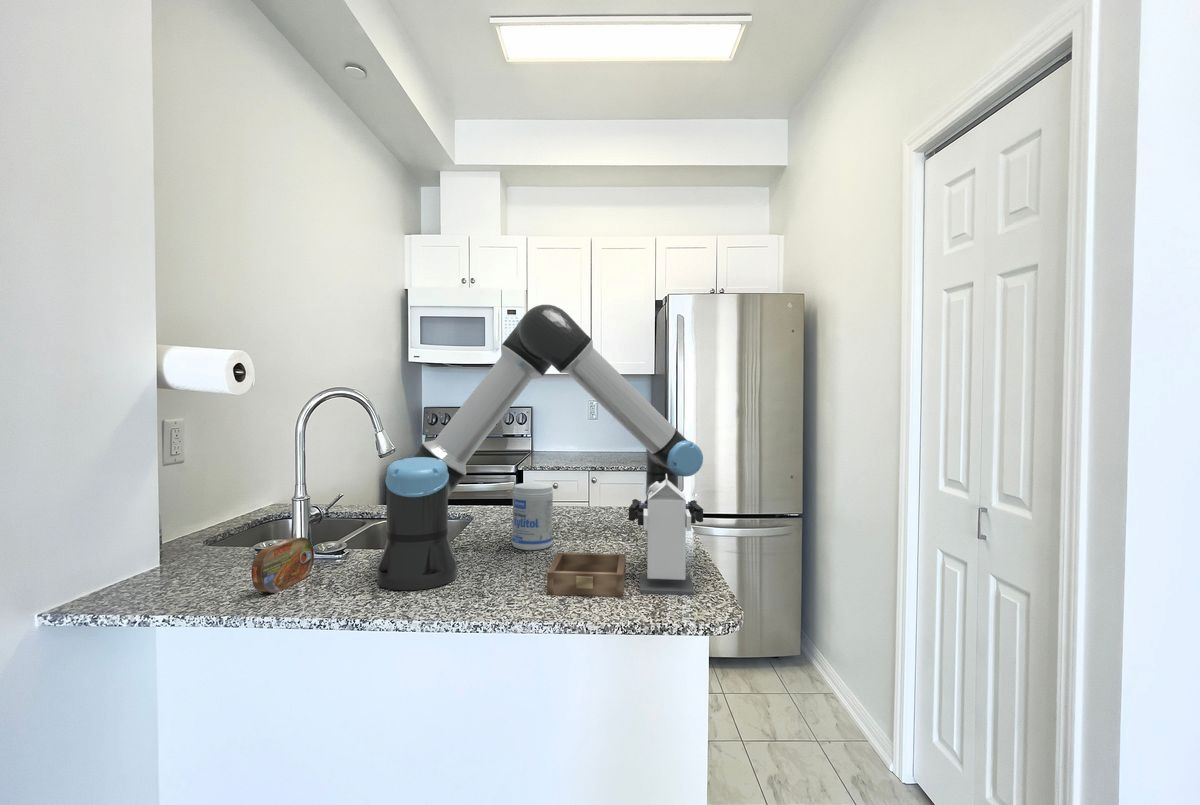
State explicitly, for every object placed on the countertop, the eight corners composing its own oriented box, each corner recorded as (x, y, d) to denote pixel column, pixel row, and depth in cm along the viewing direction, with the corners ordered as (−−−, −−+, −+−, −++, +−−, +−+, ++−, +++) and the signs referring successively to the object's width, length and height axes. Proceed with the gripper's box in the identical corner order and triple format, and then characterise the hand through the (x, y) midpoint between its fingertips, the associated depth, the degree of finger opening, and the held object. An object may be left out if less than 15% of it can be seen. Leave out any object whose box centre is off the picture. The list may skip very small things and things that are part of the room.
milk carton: (684, 569, 120) (684, 473, 119) (685, 580, 113) (686, 479, 112) (647, 568, 120) (648, 473, 120) (647, 579, 113) (647, 478, 113)
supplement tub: (508, 551, 141) (508, 488, 141) (515, 541, 151) (516, 482, 150) (550, 551, 141) (550, 488, 141) (554, 541, 150) (554, 482, 150)
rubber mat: (639, 593, 112) (639, 590, 112) (640, 576, 122) (640, 573, 122) (694, 594, 111) (694, 591, 111) (690, 578, 121) (690, 575, 121)
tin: (263, 599, 108) (263, 552, 108) (247, 598, 109) (247, 551, 109) (315, 574, 123) (315, 533, 123) (301, 573, 124) (301, 532, 123)
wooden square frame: (546, 595, 111) (546, 573, 111) (557, 571, 125) (557, 552, 125) (622, 597, 110) (623, 575, 110) (625, 573, 124) (625, 554, 124)
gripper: (709, 518, 134) (722, 544, 111) (617, 516, 135) (612, 542, 112) (709, 484, 133) (722, 503, 111) (618, 483, 135) (612, 502, 112)
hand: (667, 523), depth 111 cm, fingers closed on milk carton, 7 cm apart
